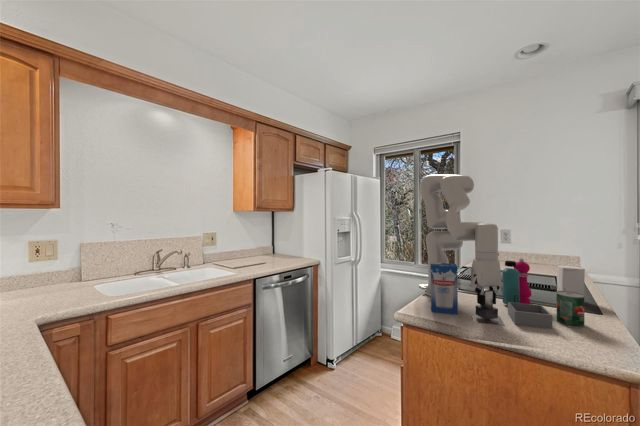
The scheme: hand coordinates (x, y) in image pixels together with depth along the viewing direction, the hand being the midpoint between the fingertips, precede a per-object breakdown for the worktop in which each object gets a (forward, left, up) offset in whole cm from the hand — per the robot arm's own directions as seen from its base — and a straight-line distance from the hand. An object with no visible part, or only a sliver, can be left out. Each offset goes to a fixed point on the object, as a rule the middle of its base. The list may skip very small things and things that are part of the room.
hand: (486, 303), depth 109 cm
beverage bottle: (+12, +21, -7) cm, 25 cm away
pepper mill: (+18, +30, -7) cm, 36 cm away
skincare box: (+39, +40, -7) cm, 56 cm away
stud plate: (0, 0, -7) cm, 7 cm away
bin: (+14, +3, -7) cm, 16 cm away
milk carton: (-15, +4, -7) cm, 17 cm away
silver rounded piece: (0, 0, -5) cm, 5 cm away
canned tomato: (+28, +8, -7) cm, 30 cm away
